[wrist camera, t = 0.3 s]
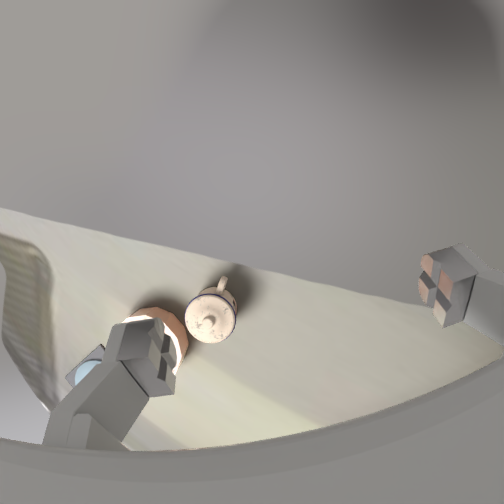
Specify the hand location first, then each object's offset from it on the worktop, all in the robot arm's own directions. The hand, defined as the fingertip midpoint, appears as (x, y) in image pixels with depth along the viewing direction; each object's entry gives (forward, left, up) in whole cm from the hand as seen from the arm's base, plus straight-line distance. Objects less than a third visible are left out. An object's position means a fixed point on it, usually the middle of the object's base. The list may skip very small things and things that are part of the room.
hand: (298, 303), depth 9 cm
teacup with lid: (-4, +14, -54) cm, 56 cm away
